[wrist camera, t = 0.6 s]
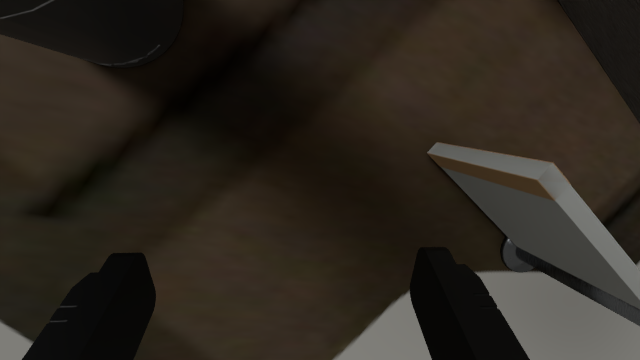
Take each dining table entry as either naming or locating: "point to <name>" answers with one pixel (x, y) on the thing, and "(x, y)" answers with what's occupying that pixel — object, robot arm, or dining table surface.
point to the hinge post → (565, 279)
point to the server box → (612, 40)
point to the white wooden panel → (542, 215)
